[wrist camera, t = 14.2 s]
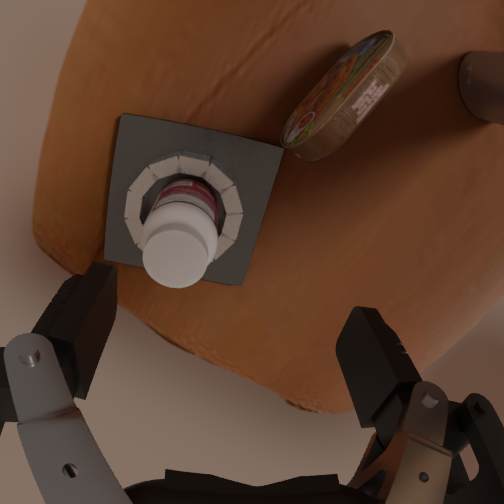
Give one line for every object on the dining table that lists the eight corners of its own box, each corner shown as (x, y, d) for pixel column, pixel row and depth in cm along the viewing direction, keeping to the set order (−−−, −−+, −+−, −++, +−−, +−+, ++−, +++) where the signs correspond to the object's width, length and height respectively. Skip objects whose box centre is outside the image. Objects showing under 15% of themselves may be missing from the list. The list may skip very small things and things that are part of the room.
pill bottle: (193, 245, 34) (184, 311, 24) (145, 212, 32) (115, 267, 22) (230, 202, 32) (236, 255, 22) (181, 164, 30) (162, 202, 20)
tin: (362, 33, 26) (404, 21, 18) (383, 54, 27) (429, 49, 19) (271, 136, 30) (288, 152, 23) (294, 155, 32) (319, 177, 24)
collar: (282, 147, 31) (289, 153, 28) (241, 281, 38) (243, 299, 35) (124, 112, 28) (113, 115, 24) (106, 255, 34) (97, 270, 31)
